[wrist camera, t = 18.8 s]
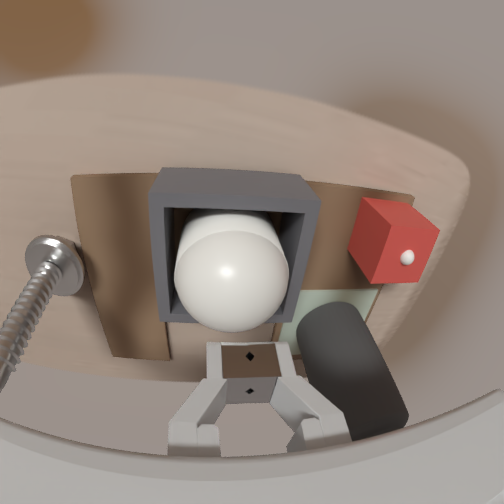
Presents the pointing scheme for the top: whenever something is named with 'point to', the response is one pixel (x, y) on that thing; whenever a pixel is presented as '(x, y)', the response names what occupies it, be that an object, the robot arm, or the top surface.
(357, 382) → the bottle
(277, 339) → the game board
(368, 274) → the red die
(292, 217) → the dome collar
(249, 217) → the dome cap
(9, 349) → the screw
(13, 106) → the top surface
